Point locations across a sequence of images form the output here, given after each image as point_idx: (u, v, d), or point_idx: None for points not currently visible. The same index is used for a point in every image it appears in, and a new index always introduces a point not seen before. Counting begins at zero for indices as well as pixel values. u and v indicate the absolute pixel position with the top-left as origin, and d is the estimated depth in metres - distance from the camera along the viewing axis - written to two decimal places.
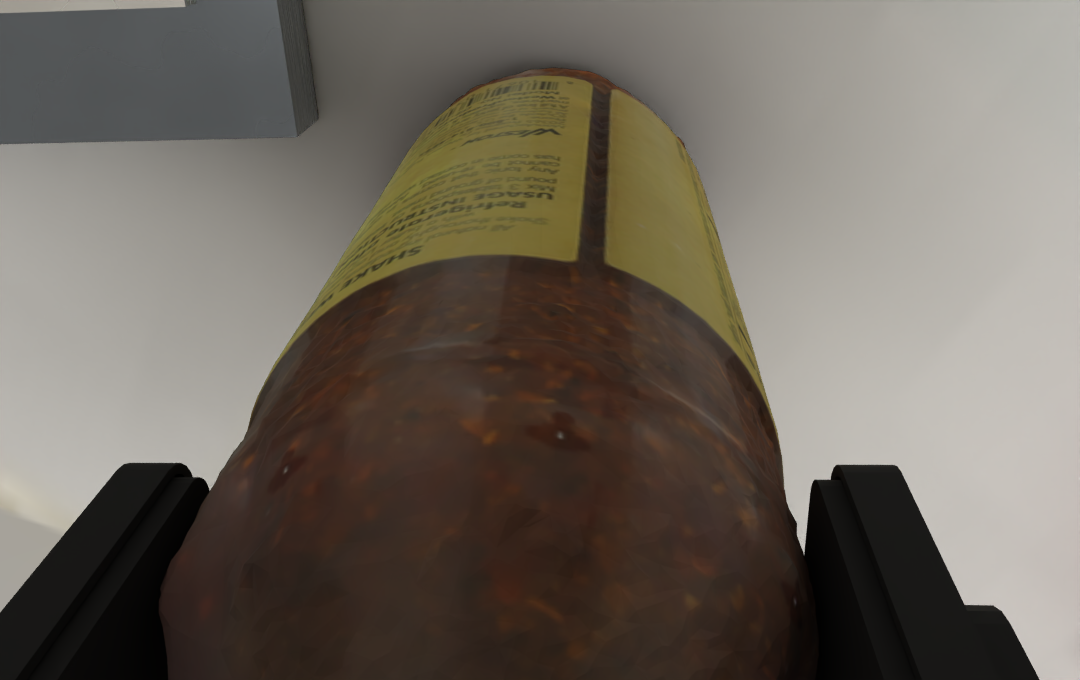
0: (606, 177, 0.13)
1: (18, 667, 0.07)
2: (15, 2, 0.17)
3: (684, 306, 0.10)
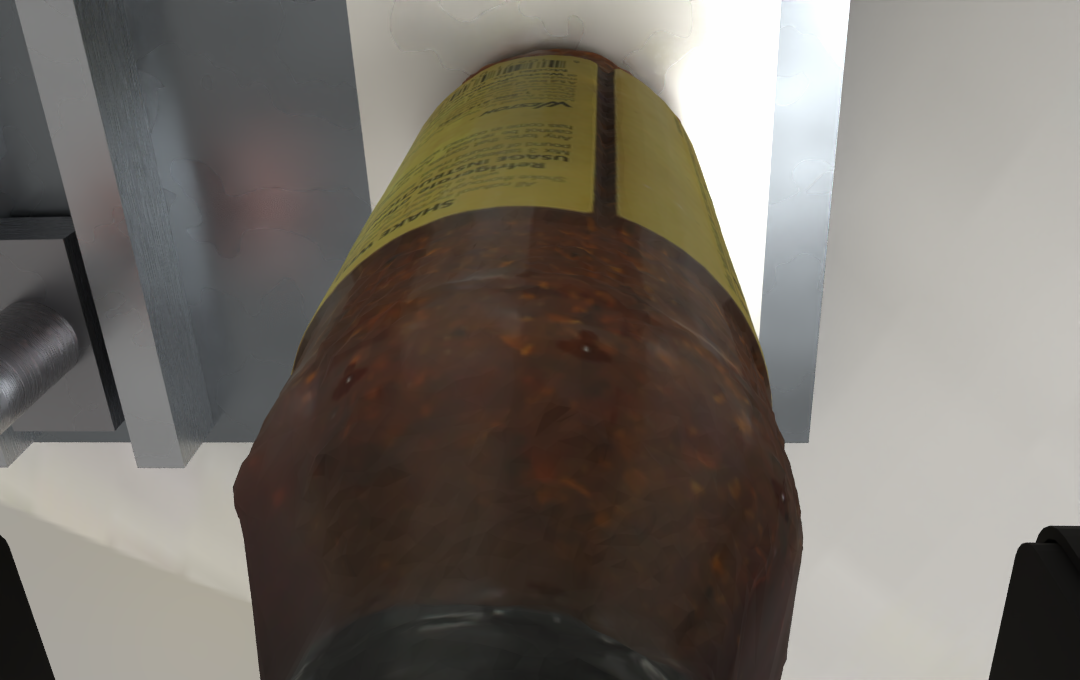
0: (614, 145, 0.14)
1: None
2: None
3: (687, 254, 0.11)
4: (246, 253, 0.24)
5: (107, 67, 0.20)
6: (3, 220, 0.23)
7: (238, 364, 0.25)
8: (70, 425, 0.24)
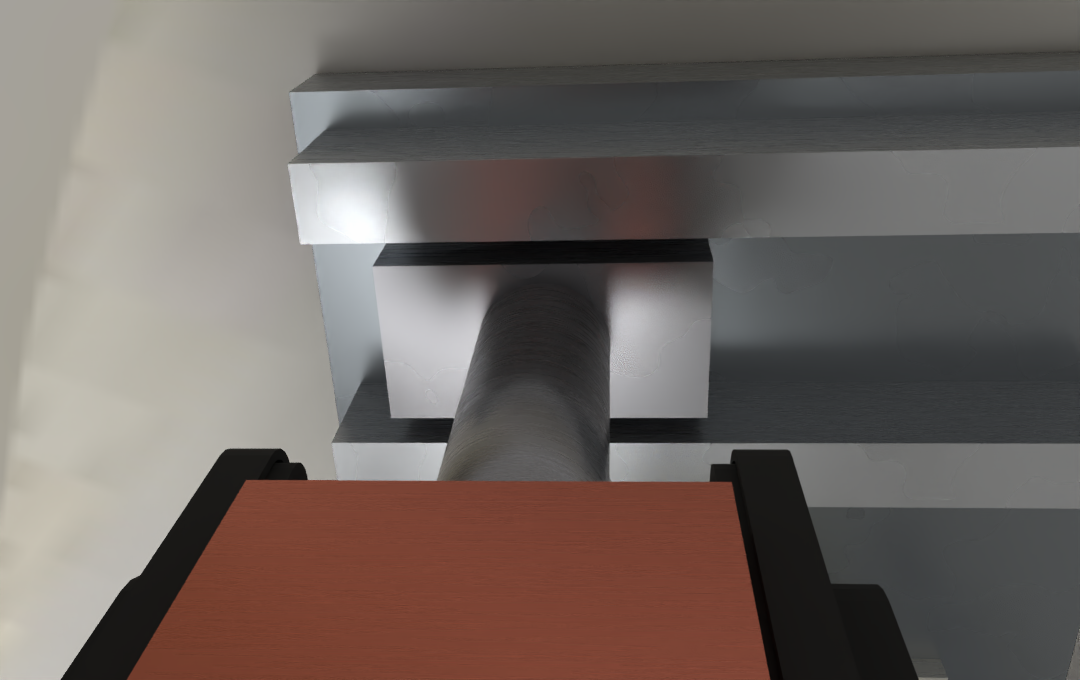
0: None
1: None
2: None
3: None
4: None
5: None
6: None
7: None
8: (393, 356, 0.15)
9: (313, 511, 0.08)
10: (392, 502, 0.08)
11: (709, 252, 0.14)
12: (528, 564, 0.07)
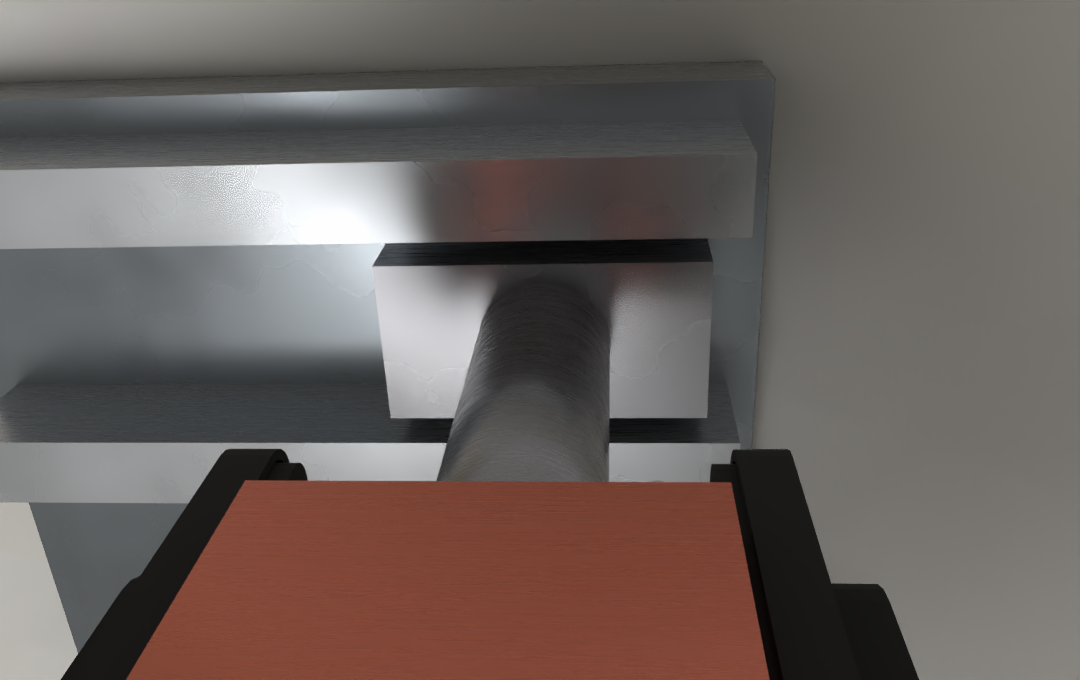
0: None
1: None
2: None
3: None
4: None
5: None
6: None
7: None
8: (392, 356, 0.15)
9: (312, 511, 0.08)
10: (391, 502, 0.08)
11: (709, 252, 0.14)
12: (527, 564, 0.07)
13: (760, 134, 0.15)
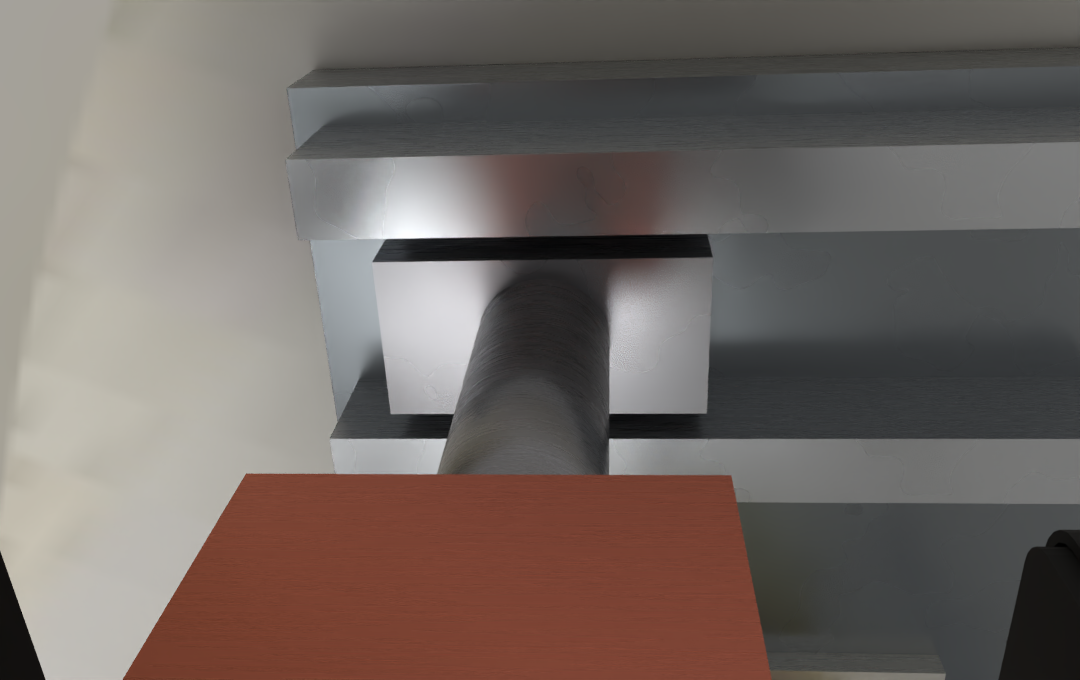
0: None
1: None
2: None
3: None
4: None
5: None
6: None
7: None
8: (392, 352, 0.15)
9: (313, 504, 0.08)
10: (392, 495, 0.08)
11: (708, 248, 0.14)
12: (528, 556, 0.07)
13: None
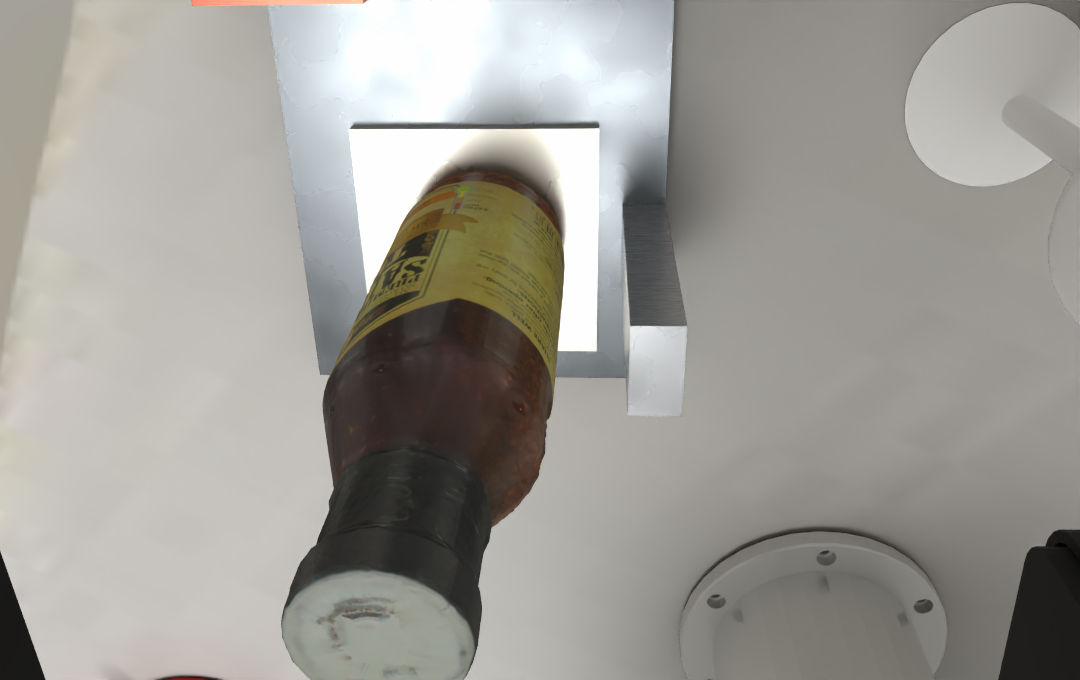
0: None
1: None
2: (370, 278, 0.38)
3: None
4: (423, 30, 0.34)
5: None
6: None
7: (334, 9, 0.33)
8: None
9: None
10: None
11: None
12: None
13: None
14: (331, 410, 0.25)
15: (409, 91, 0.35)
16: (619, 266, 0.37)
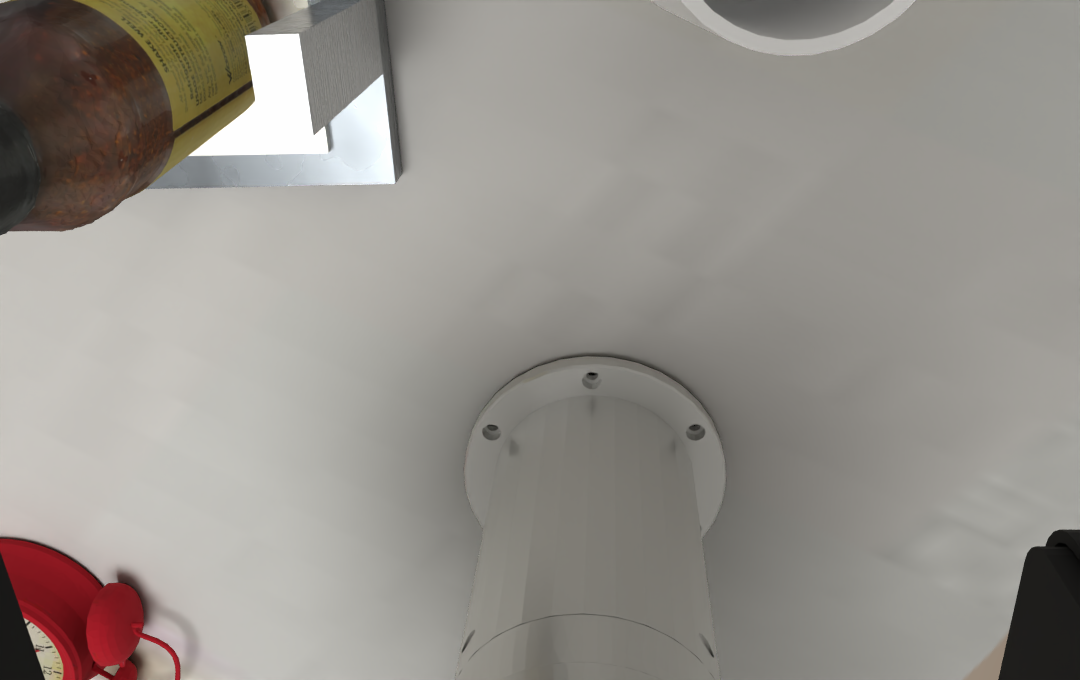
0: (211, 113, 0.32)
1: None
2: None
3: (164, 166, 0.29)
4: None
5: None
6: None
7: None
8: None
9: None
10: None
11: None
12: None
13: None
14: None
15: None
16: None
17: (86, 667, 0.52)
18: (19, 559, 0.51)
